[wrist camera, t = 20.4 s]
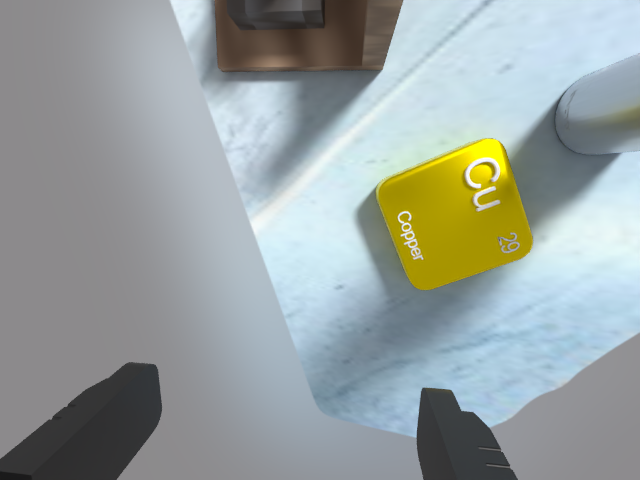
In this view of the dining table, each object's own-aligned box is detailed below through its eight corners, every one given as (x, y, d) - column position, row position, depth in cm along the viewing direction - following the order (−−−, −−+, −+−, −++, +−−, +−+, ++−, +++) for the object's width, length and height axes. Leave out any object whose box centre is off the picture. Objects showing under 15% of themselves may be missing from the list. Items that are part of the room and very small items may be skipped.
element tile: (370, 183, 40) (372, 185, 35) (484, 135, 38) (503, 130, 33) (409, 284, 42) (416, 297, 38) (519, 245, 40) (541, 254, 35)
